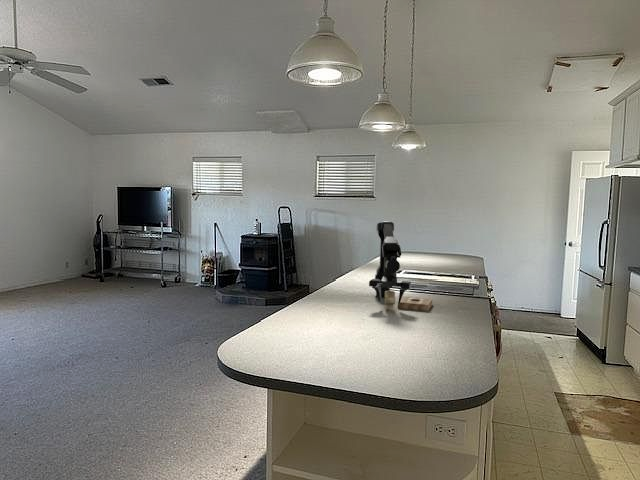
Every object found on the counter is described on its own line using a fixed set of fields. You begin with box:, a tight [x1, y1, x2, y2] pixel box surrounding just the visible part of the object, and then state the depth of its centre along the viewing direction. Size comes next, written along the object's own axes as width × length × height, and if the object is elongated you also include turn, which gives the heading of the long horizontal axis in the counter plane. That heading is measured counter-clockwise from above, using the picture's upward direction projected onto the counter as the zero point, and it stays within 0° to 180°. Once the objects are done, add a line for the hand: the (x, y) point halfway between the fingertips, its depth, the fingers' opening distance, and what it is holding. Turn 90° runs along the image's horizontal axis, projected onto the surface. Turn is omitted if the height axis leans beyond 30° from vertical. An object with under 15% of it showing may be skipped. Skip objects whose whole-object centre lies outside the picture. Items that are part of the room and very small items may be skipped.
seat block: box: [397, 295, 433, 312], centre depth 216 cm, size 14×14×3 cm
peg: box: [384, 290, 396, 312], centre depth 209 cm, size 5×5×8 cm
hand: (389, 302), depth 209 cm, fingers open, 9 cm apart
